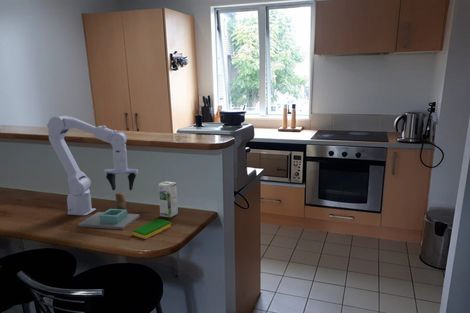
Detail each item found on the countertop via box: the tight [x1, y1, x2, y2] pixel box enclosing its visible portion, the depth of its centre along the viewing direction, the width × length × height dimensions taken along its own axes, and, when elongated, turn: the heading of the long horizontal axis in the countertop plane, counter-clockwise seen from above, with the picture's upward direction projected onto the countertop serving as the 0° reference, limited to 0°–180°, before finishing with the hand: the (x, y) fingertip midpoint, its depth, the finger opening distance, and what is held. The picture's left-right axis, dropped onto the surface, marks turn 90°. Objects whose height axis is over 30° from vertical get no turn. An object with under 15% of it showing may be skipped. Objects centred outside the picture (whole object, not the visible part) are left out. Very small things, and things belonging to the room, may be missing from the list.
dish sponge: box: [132, 218, 172, 240], centre depth 134 cm, size 7×14×2 cm, turn 147°
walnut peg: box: [115, 191, 127, 210], centre depth 157 cm, size 4×4×8 cm
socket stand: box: [77, 208, 141, 230], centre depth 144 cm, size 20×14×4 cm
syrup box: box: [158, 180, 179, 218], centre depth 149 cm, size 6×6×14 cm
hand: (122, 189), depth 154 cm, fingers open, 7 cm apart
